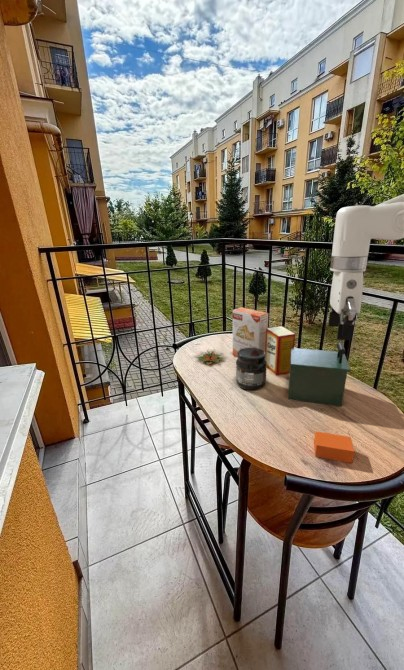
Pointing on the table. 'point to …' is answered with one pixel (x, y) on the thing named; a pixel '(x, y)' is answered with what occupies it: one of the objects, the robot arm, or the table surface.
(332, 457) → the block
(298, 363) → the bin lid
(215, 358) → the green red plant
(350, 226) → the robot arm
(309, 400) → the bin
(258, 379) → the supplement container
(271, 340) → the baking soda box
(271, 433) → the table surface
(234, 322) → the cracker box
